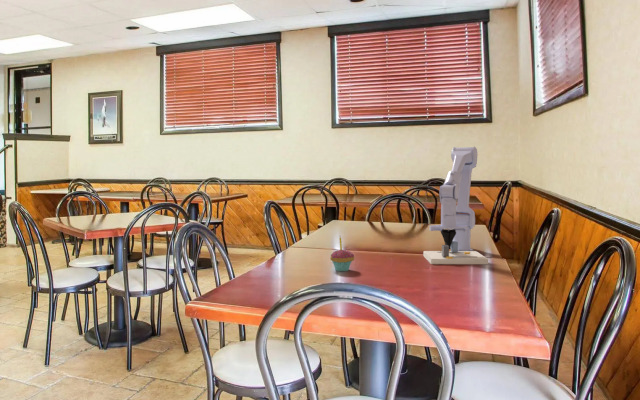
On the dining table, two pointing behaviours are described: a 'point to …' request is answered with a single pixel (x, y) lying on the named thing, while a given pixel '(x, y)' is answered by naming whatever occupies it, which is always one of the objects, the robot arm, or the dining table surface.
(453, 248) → the grey rectangular block
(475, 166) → the robot arm
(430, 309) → the dining table surface
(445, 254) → the gray tab
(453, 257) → the switch board
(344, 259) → the cupcake
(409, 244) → the dining table surface
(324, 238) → the dining table surface
